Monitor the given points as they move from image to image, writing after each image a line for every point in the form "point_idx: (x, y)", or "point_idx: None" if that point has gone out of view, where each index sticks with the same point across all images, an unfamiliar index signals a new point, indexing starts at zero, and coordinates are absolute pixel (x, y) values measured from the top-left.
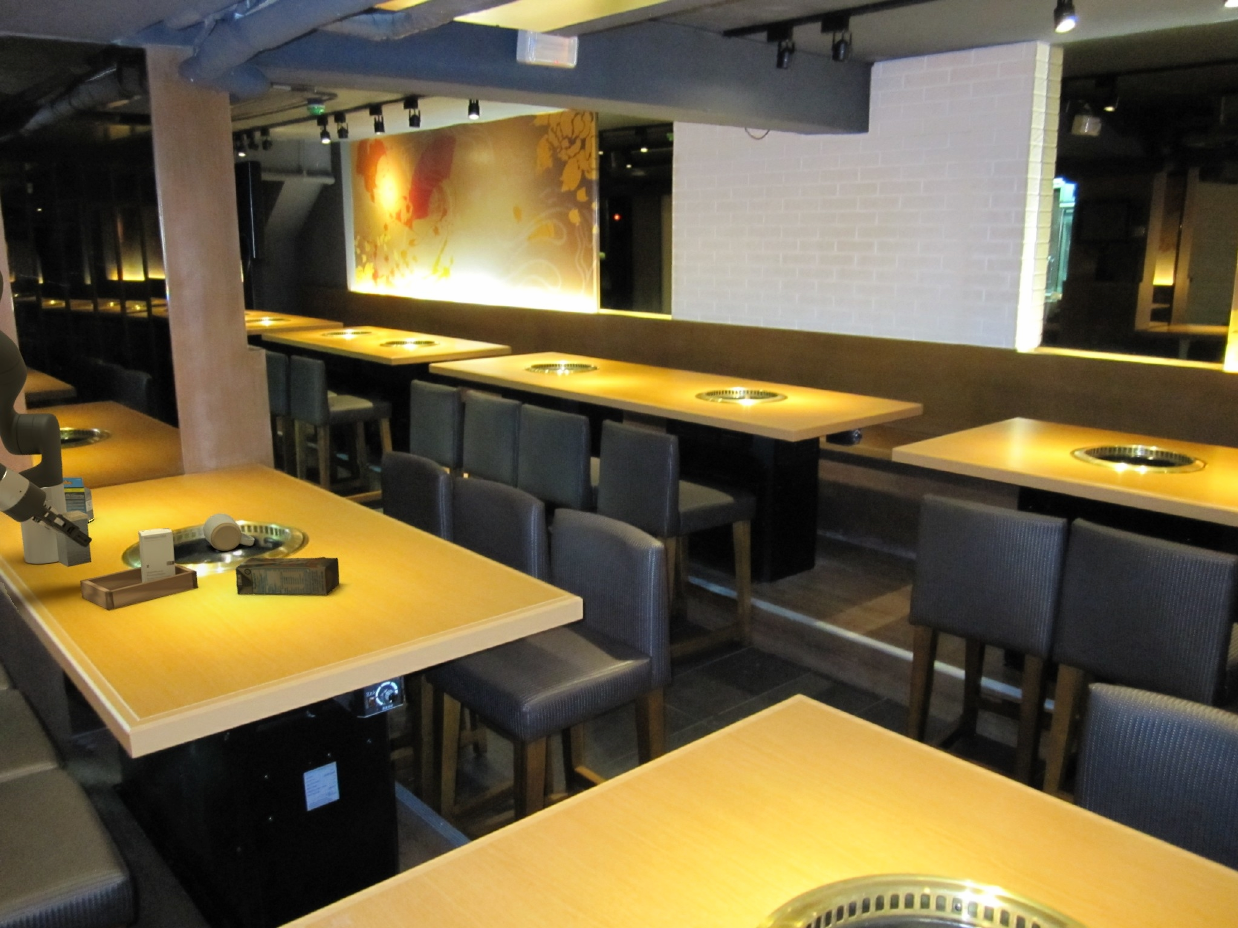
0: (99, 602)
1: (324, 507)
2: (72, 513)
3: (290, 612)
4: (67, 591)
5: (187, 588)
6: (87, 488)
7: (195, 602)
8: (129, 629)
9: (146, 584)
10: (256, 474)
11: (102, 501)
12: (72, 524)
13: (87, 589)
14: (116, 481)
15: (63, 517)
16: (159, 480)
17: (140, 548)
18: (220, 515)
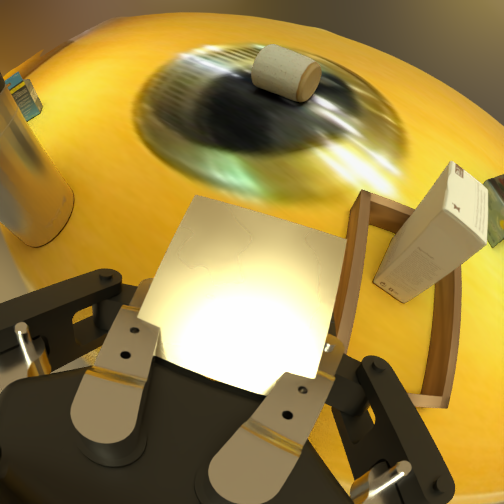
0: None
1: (256, 23)
2: (231, 261)
3: None
4: None
5: None
6: (26, 79)
7: (487, 300)
8: (494, 426)
9: (459, 325)
10: (128, 19)
11: (34, 85)
12: (410, 410)
13: None
14: (32, 68)
15: (447, 476)
16: (61, 51)
17: (436, 249)
18: (279, 48)
